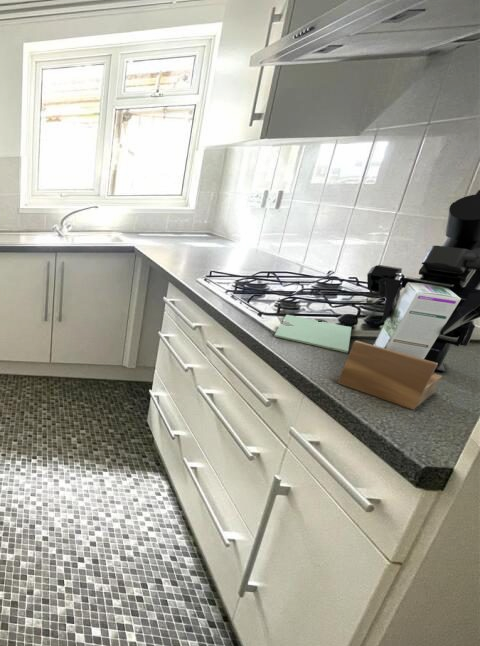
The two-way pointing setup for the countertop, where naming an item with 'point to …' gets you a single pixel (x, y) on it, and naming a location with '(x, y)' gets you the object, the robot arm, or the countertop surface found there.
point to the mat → (315, 333)
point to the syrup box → (417, 319)
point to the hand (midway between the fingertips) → (411, 326)
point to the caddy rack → (389, 375)
